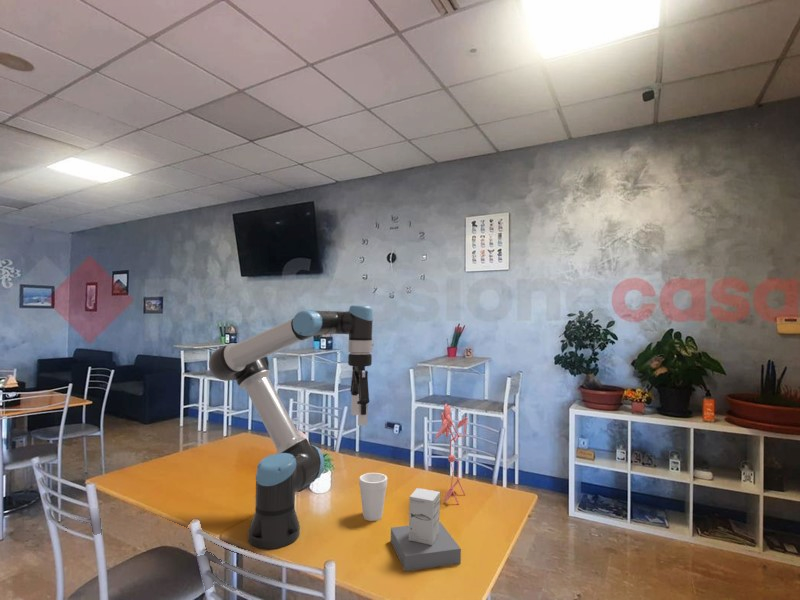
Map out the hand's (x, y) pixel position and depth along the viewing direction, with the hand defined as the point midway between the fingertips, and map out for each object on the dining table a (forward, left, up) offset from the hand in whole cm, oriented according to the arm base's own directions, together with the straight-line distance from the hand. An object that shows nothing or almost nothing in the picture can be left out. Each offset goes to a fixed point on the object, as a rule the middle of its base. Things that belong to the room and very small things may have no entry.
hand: (358, 419), depth 139 cm
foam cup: (+7, +8, -35) cm, 36 cm away
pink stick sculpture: (+37, +18, -35) cm, 54 cm away
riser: (+17, -17, -35) cm, 42 cm away
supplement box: (+17, -17, -31) cm, 39 cm away
